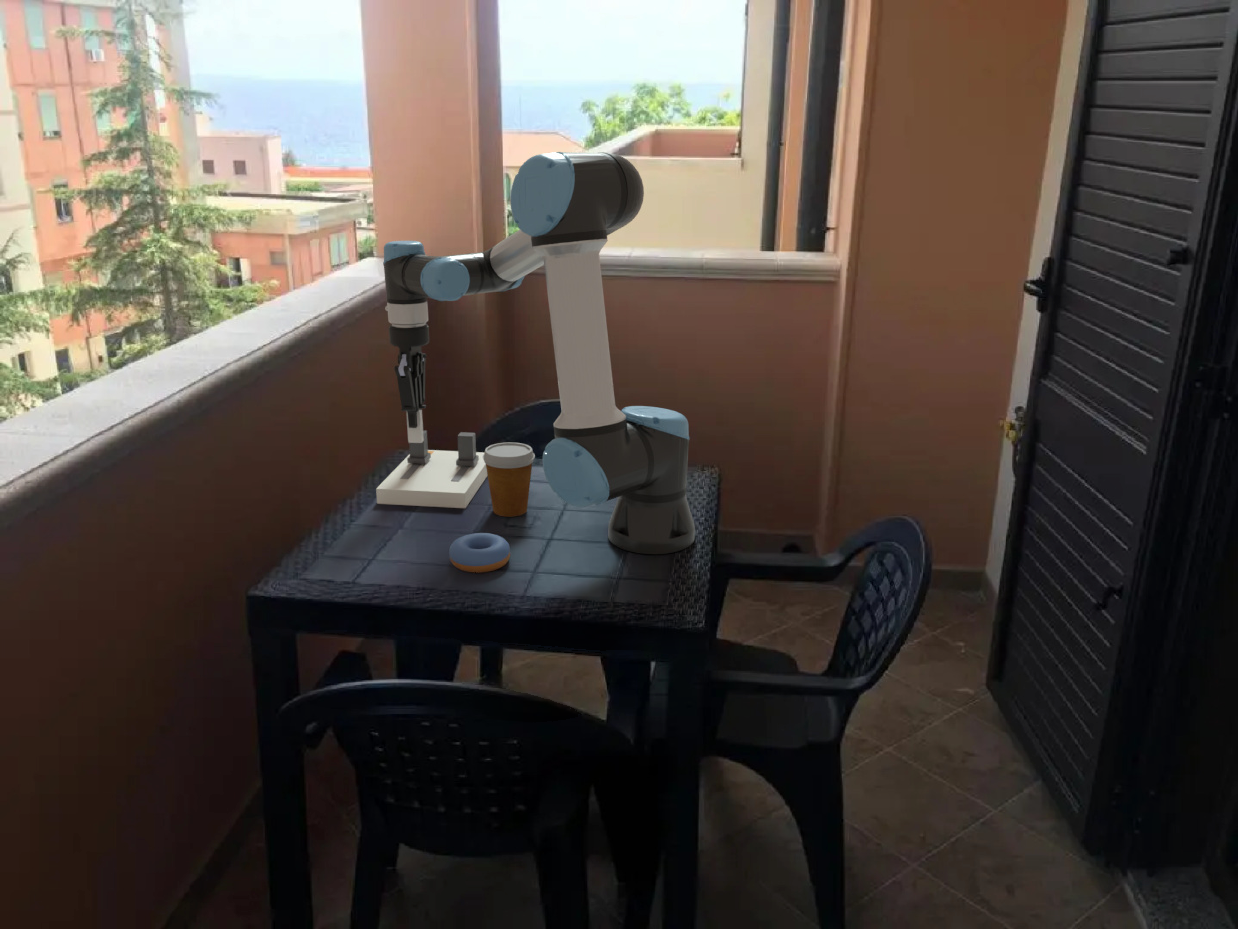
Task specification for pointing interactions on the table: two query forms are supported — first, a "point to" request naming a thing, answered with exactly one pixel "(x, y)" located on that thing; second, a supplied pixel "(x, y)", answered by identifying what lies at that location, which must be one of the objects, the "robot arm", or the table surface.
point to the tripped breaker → (419, 451)
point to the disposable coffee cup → (509, 477)
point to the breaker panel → (433, 482)
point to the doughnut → (479, 552)
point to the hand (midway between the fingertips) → (416, 441)
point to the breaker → (466, 450)
